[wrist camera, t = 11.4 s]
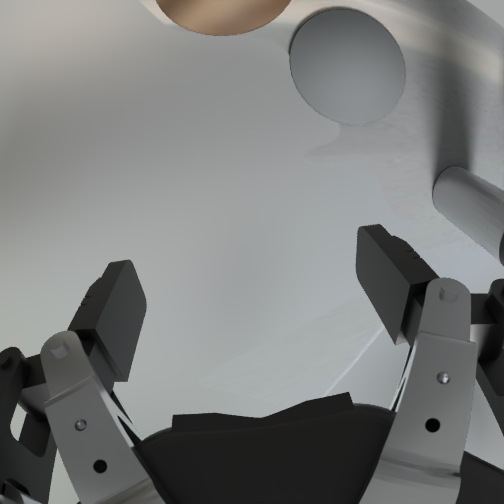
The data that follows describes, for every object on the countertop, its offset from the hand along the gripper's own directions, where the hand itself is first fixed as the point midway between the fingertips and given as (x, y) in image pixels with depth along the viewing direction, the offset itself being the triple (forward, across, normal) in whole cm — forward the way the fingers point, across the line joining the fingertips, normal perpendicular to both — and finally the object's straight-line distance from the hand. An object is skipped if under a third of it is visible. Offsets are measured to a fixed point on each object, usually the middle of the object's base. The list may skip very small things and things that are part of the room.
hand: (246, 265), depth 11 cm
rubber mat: (+32, -17, -8) cm, 37 cm away
